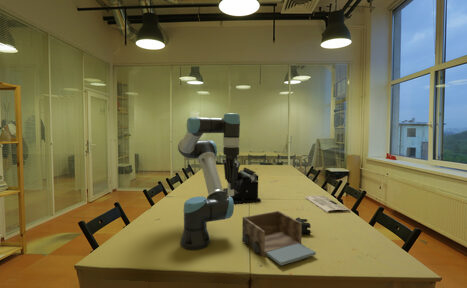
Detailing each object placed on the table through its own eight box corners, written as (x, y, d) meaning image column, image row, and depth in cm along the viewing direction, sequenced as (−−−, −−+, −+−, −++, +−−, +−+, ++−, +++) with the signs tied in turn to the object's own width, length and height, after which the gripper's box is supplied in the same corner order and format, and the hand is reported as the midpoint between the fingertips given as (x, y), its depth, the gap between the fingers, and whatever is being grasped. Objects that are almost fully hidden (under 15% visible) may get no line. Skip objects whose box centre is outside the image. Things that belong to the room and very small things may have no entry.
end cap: (294, 228, 139) (294, 217, 138) (305, 228, 138) (306, 217, 138) (297, 235, 129) (297, 223, 128) (310, 235, 128) (310, 224, 128)
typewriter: (220, 195, 211) (220, 168, 210) (247, 192, 219) (247, 166, 218) (229, 205, 182) (229, 174, 180) (260, 202, 190) (261, 172, 189)
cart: (240, 239, 123) (240, 217, 123) (279, 230, 135) (279, 210, 134) (260, 257, 106) (260, 232, 105) (303, 245, 117) (303, 222, 117)
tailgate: (266, 252, 107) (280, 262, 97) (299, 243, 116) (315, 251, 106) (266, 256, 107) (281, 267, 97) (299, 247, 115) (315, 256, 106)
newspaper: (350, 212, 166) (350, 209, 166) (324, 213, 164) (324, 210, 164) (324, 198, 203) (324, 195, 203) (303, 198, 201) (303, 195, 200)
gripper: (245, 147, 103) (244, 198, 105) (231, 145, 115) (231, 191, 117) (231, 148, 100) (230, 200, 102) (218, 145, 111) (217, 193, 113)
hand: (230, 195), depth 109 cm, fingers closed
